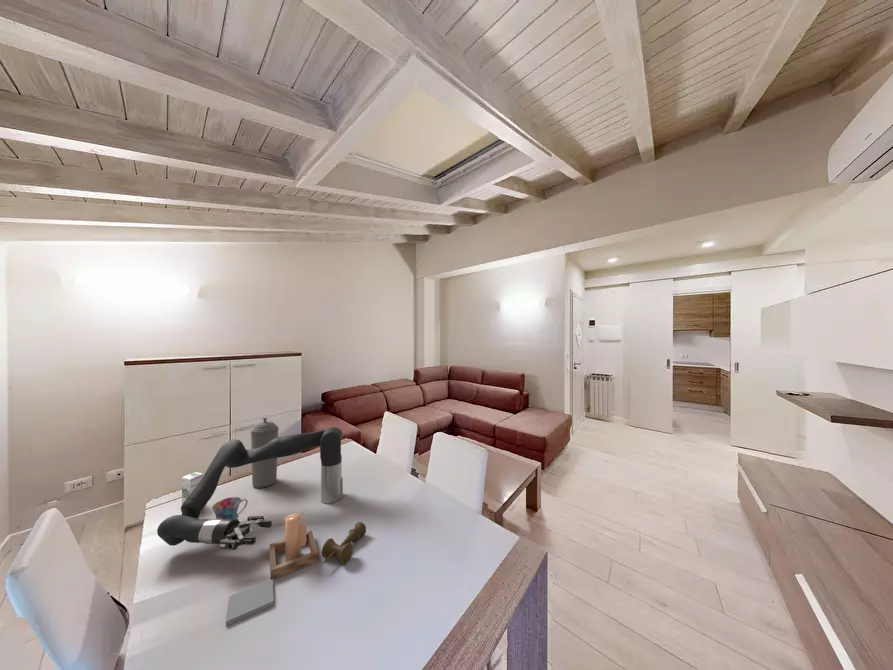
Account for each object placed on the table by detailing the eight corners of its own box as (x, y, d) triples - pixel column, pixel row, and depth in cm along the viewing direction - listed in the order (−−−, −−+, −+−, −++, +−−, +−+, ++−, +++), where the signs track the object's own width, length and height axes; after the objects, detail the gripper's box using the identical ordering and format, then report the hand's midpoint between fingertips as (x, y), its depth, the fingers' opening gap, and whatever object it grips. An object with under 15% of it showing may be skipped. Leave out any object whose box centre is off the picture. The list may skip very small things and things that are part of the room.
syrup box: (204, 504, 134) (204, 473, 134) (189, 511, 128) (189, 478, 128) (196, 502, 136) (196, 471, 136) (181, 509, 130) (181, 476, 130)
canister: (272, 475, 162) (272, 413, 162) (282, 481, 154) (283, 416, 155) (246, 484, 152) (246, 418, 152) (256, 492, 144) (256, 422, 144)
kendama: (371, 538, 112) (335, 576, 93) (351, 532, 115) (312, 568, 96) (371, 522, 112) (335, 557, 93) (351, 517, 115) (312, 550, 97)
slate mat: (272, 582, 90) (272, 579, 90) (273, 605, 83) (273, 600, 83) (229, 600, 84) (229, 596, 84) (225, 625, 77) (225, 621, 77)
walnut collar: (312, 537, 111) (312, 530, 111) (318, 561, 99) (318, 552, 99) (269, 552, 103) (269, 544, 103) (270, 580, 91) (270, 570, 91)
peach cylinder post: (282, 562, 99) (282, 521, 99) (290, 551, 104) (290, 512, 104) (301, 563, 98) (301, 522, 99) (308, 552, 103) (309, 513, 104)
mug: (217, 540, 109) (217, 512, 110) (208, 531, 114) (208, 505, 115) (252, 523, 120) (252, 497, 120) (242, 516, 125) (242, 491, 125)
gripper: (234, 528, 109) (276, 529, 109) (201, 556, 95) (248, 558, 94) (234, 508, 109) (276, 509, 109) (201, 534, 95) (249, 535, 95)
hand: (263, 532), depth 102 cm, fingers open, 8 cm apart
